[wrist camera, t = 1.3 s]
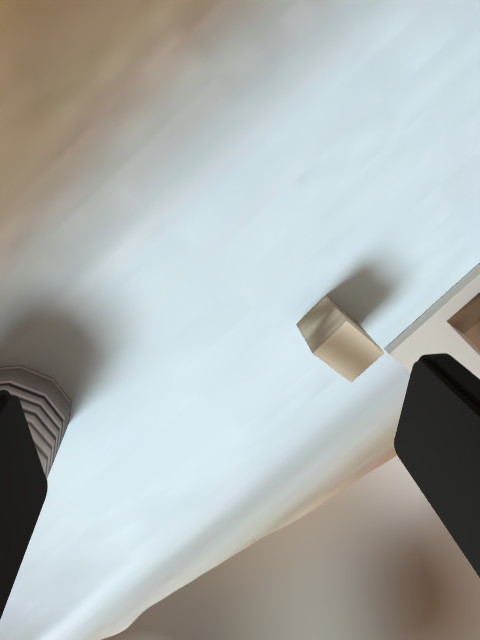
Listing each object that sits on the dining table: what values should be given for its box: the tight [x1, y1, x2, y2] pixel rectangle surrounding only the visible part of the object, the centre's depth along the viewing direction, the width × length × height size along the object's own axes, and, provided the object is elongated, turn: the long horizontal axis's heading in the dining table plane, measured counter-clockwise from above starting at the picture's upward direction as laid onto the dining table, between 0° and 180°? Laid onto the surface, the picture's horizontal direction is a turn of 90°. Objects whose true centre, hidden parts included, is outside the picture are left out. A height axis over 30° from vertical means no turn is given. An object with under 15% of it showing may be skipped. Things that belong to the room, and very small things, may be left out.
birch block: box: [296, 295, 384, 382], centre depth 39 cm, size 4×6×6 cm
